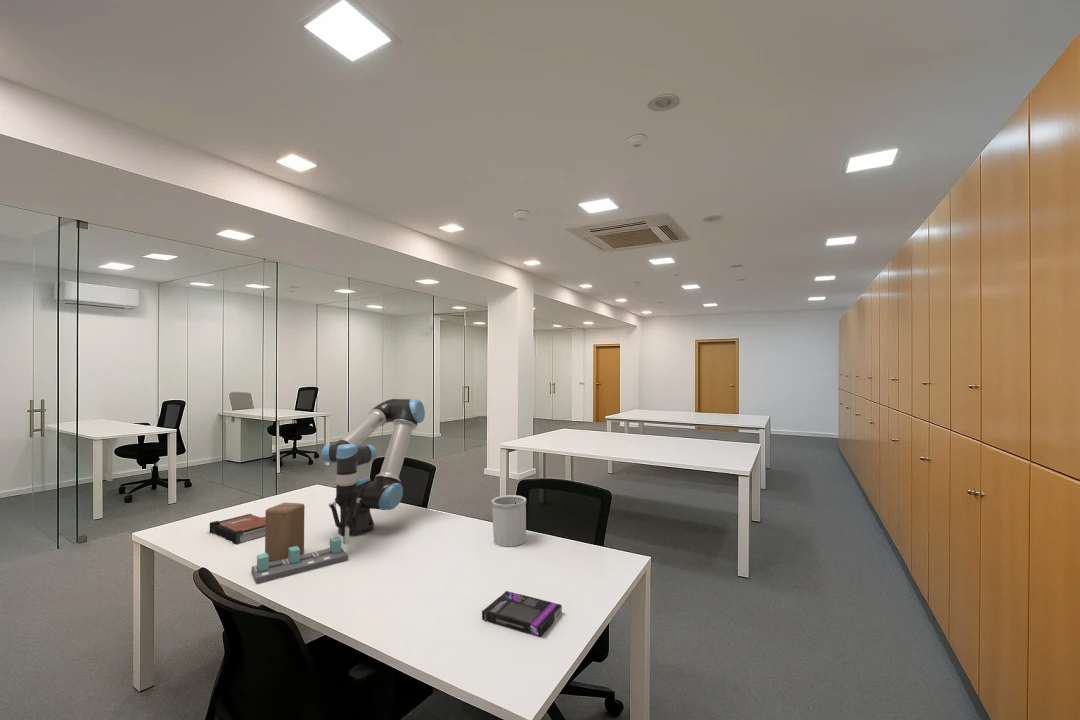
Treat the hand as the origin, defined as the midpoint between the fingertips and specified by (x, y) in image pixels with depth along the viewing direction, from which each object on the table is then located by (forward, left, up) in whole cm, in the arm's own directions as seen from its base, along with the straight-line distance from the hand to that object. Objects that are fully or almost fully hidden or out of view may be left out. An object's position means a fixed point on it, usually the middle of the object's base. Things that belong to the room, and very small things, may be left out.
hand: (346, 543), depth 178 cm
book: (+28, -55, -5) cm, 62 cm away
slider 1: (+28, 0, -2) cm, 28 cm away
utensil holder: (-58, +31, -4) cm, 66 cm away
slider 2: (+18, 0, -2) cm, 19 cm away
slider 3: (+4, 0, -2) cm, 4 cm away
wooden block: (+19, -12, -4) cm, 23 cm away
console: (+16, +1, -4) cm, 17 cm away
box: (-26, +81, -5) cm, 86 cm away
